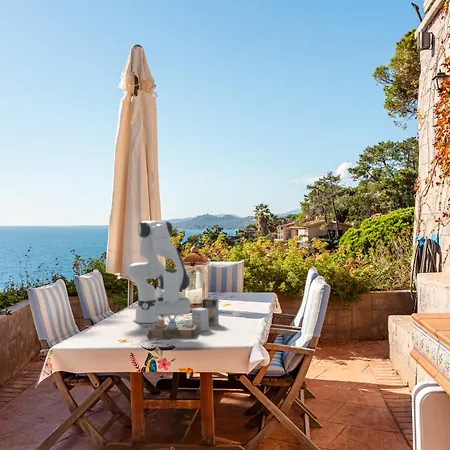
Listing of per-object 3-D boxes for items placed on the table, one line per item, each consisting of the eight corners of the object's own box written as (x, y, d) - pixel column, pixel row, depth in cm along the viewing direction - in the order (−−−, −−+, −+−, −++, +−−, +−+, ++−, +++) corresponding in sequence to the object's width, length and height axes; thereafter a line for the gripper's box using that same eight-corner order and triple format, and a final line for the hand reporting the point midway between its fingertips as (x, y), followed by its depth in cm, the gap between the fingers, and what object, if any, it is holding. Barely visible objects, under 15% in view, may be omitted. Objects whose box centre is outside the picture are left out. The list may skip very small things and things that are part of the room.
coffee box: (202, 325, 310) (201, 299, 310) (205, 323, 316) (204, 298, 316) (216, 326, 308) (215, 300, 308) (219, 324, 314) (218, 298, 314)
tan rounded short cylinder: (157, 329, 291) (157, 319, 291) (165, 329, 291) (165, 319, 291) (156, 331, 286) (155, 320, 286) (164, 331, 286) (163, 320, 286)
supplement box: (199, 328, 303) (199, 307, 303) (209, 329, 298) (208, 308, 298) (191, 330, 297) (191, 309, 297) (200, 331, 292) (200, 310, 292)
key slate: (169, 331, 284) (169, 321, 284) (177, 331, 283) (177, 321, 283) (167, 333, 279) (167, 322, 279) (176, 333, 279) (175, 322, 279)
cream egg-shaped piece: (184, 329, 290) (184, 318, 290) (192, 329, 290) (192, 318, 290) (183, 330, 286) (183, 320, 286) (191, 330, 285) (191, 320, 285)
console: (153, 332, 293) (153, 324, 293) (197, 332, 291) (197, 324, 291) (148, 338, 278) (148, 330, 278) (194, 337, 276) (194, 329, 276)
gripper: (190, 296, 284) (191, 320, 284) (155, 297, 285) (155, 321, 285) (189, 298, 277) (190, 322, 277) (153, 298, 278) (153, 323, 278)
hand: (172, 322), depth 281 cm, fingers closed, pressing on key slate
